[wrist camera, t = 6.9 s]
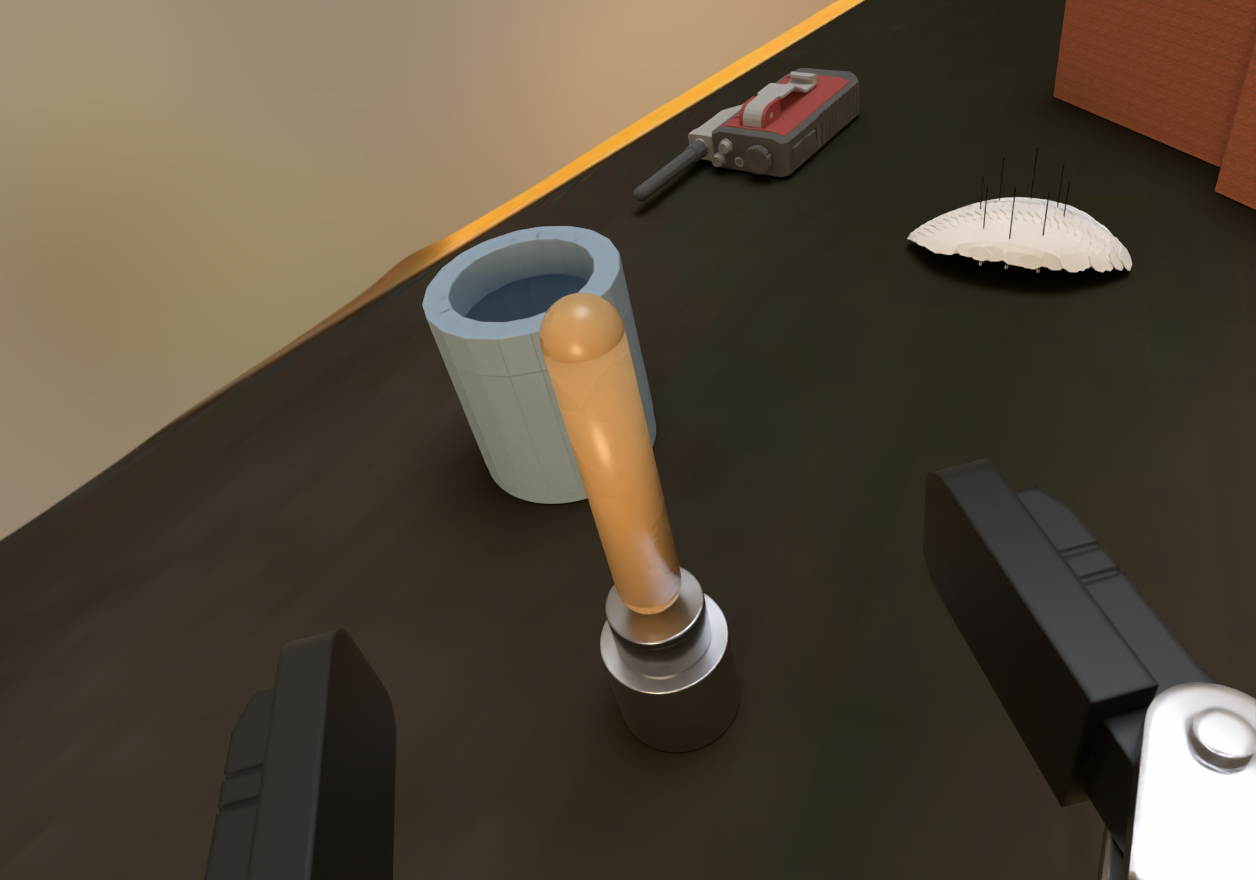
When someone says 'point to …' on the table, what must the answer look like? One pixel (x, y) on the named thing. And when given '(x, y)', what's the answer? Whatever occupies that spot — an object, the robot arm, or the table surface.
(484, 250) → the jar
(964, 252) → the pincushion
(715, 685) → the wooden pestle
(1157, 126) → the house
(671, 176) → the walkie-talkie
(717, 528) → the table surface
